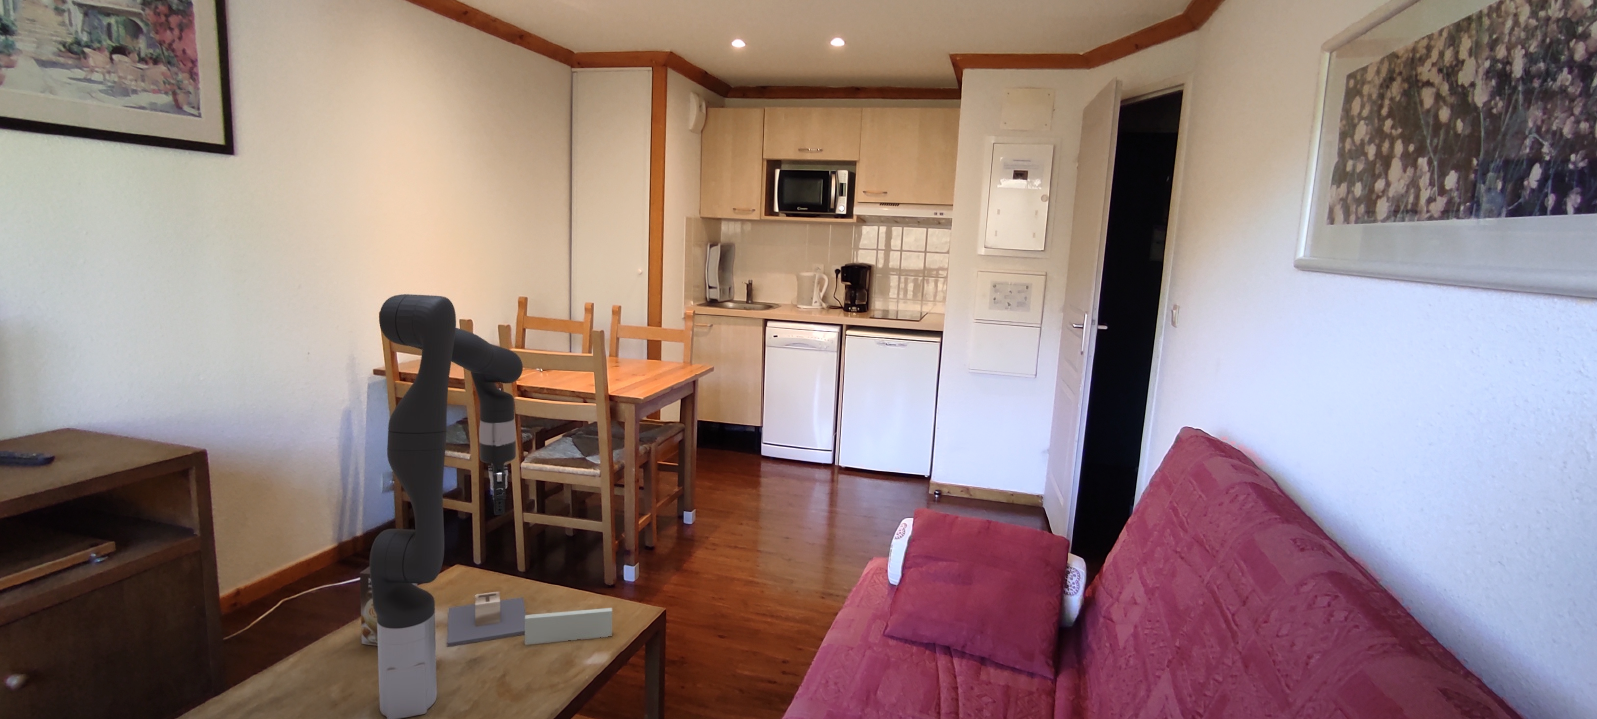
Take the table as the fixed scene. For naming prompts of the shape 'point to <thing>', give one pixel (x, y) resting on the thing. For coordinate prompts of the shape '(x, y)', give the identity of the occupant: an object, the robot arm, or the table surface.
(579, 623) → the screen
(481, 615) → the letter cube
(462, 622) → the mat
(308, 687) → the table surface
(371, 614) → the coffee box
